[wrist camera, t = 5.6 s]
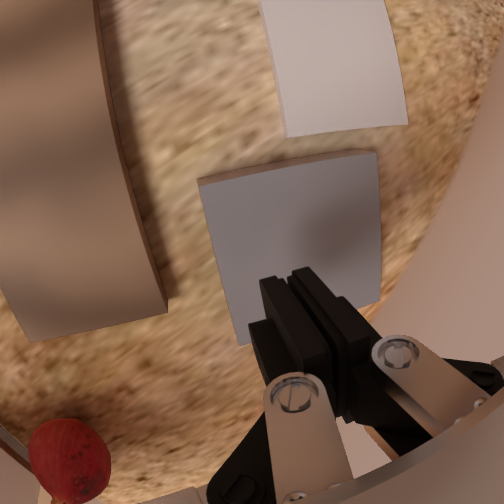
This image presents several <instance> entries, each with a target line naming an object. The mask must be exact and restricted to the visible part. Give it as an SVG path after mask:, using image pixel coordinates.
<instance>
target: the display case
mask: <svg viewBox="0 0 504 504" xmlns="http://www.w3.org/2000/svg"><path fill="white" fill-rule="evenodd" d="M40 485H41V484H40V483H39V481H38V480H37V478H36V477H35V475H34V473H33V471H32V468H31V465H30V462H29V457H28V450H27V449H26V448H24V447H23V446H22V445H21V444H20V443H19V442H18V441H17V440H15V439H14V438H13V437H12V436H11V435H10V434H9V433H8V432H7V431H6V430H5V429H4V428H3V427H2V426H1V425H0V504H37V503H38V497H39V491H40Z"/></svg>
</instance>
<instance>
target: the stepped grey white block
mask: <svg viewBox="0 0 504 504" xmlns="http://www.w3.org/2000/svg"><path fill="white" fill-rule="evenodd" d="M257 3H258V7H259V11H260V16H261V20H262V24H263V29H264V33H265V38H266V42H267V47H268V52H269V57H270V61H271V66H272V71H273V76H274V81H275V86H276V92H277V97H278V102H279V108H280V113H281V119H282V124H283V130H284V136H285V138H292V137H298V136H305V135H312V134H319V133H326V132H334V131H342V130H351V129H360V128H370V127H382V126H394V125H408V118H407V110H406V103H405V96H404V89H403V83H402V77H401V71H400V66H399V61H398V56H397V51H396V47H395V42H394V38H393V33H392V29H391V25H390V21H389V18H388V14H387V10H386V7H385V3H384V0H257Z"/></svg>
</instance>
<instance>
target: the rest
mask: <svg viewBox="0 0 504 504" xmlns="http://www.w3.org/2000/svg"><path fill="white" fill-rule="evenodd" d="M0 287H1V289H2V291H3V293H4V295H5V297H6V299H7V301H8V303H9V305H10V307H11V309H12V311H13V313H14V315H15V317H16V319H17V321H18V323H19V324H20V326H21V328H22V330H23V331H24V333H25V335H26V337H27V338H28V340H29V342H30V343H33V342H38V341H43V340H48V339H53V338H58V337H63V336H68V335H72V334H77V333H82V332H86V331H91V330H96V329H100V328H105V327H109V326H113V325H118V324H122V323H127V322H131V321H135V320H139V319H144V318H148V317H152V316H156V315H160V314H164V313H168V298H167V296H166V293H165V290H164V287H163V284H162V281H161V278H160V276H159V273H158V270H157V267H156V264H155V261H154V258H153V255H152V252H151V248H150V245H149V242H148V239H147V236H146V232H145V229H144V226H143V223H142V219H141V216H140V212H139V209H138V205H137V202H136V198H135V195H134V191H133V187H132V184H131V180H130V176H129V172H128V168H127V164H126V160H125V156H124V152H123V148H122V144H121V139H120V135H119V130H118V126H117V121H116V116H115V111H114V106H113V101H112V96H111V91H110V85H109V80H108V74H107V68H106V61H105V55H104V48H103V41H102V33H101V25H100V16H99V6H98V0H0Z"/></svg>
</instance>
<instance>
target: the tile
mask: <svg viewBox="0 0 504 504" xmlns="http://www.w3.org/2000/svg"><path fill="white" fill-rule="evenodd" d="M197 184H198V188H199V192H200V197H201V201H202V205H203V209H204V213H205V218H206V222H207V226H208V230H209V234H210V238H211V242H212V246H213V250H214V254H215V258H216V262H217V266H218V270H219V274H220V278H221V282H222V286H223V289H224V293H225V297H226V301H227V305H228V308H229V312H230V316H231V319H232V323H233V327H234V330H235V333H236V337H237V340H238V343H239V346H241V345H245V344H248V343H252V341H251V337H250V333H249V329H248V324H249V323H253V322H256V321H260V320H264V319H266V316H265V311H264V306H263V301H262V296H261V290H260V285H259V280H260V279H263V278H267V277H271V276H274V275H276V276H277V278H278V279H280V278H284V280H285V281H286V283H287V276H290V275H291V273H292V270H296V269H299V268H303V267H307V266H309V267H310V268H311V269H312V270H313V271H314V273H315V274H316V275H317V276H318V277H319V278H320V279H321V280H322V281H323V282H324V284H325V285H326V286H327V287H328V288H329V289H330V290H331V291H332V293H333V294H334V295H335V296H336V297H339V296H344V297H345V298H346V299H347V300H348V301H349V302H350V303H351V304H352V305H353V307H354V308H355V309H358V308H361V307H364V306H367V305H369V304H372V303H375V302H377V301H380V289H381V213H380V192H379V176H378V164H377V153H376V152H371V151H365V150H359V149H350V150H343V151H336V152H330V153H324V154H317V155H311V156H306V157H300V158H294V159H289V160H283V161H278V162H273V163H268V164H263V165H258V166H253V167H248V168H244V169H239V170H234V171H230V172H225V173H221V174H217V175H212V176H208V177H204V178H200V179H197Z"/></svg>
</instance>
